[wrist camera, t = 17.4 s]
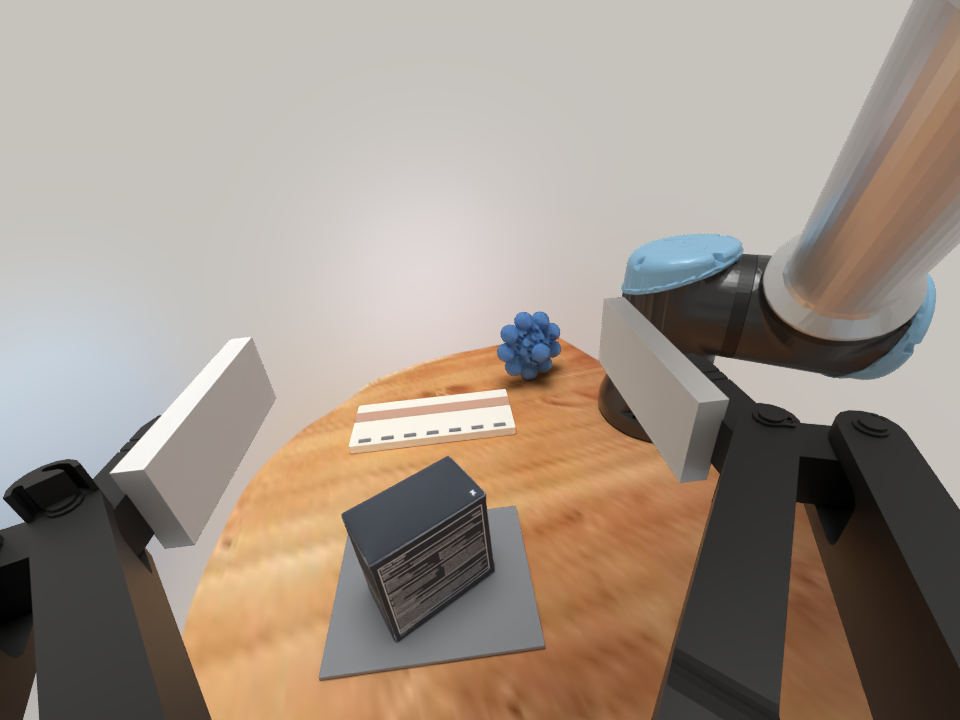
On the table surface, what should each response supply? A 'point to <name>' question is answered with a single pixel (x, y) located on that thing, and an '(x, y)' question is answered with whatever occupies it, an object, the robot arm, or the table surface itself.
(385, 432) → the board
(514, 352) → the blue bumpy cluster
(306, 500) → the table surface
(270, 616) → the table surface
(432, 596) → the small box
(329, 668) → the mat
